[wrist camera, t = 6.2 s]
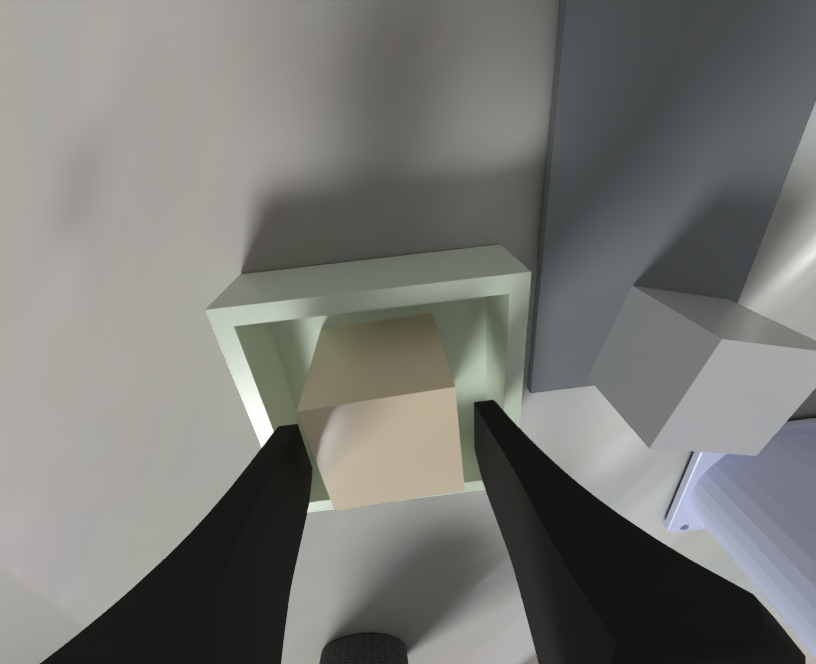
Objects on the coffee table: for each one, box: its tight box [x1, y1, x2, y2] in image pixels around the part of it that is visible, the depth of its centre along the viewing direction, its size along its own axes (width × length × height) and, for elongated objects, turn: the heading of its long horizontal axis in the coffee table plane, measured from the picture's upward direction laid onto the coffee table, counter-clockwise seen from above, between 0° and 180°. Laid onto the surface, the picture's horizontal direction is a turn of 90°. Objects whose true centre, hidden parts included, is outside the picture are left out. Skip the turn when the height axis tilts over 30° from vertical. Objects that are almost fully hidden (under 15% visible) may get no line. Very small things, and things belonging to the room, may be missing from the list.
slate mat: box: [527, 0, 816, 393], centre depth 12 cm, size 8×14×1 cm, turn 5°
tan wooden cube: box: [297, 312, 465, 511], centre depth 12 cm, size 4×4×4 cm
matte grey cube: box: [587, 286, 816, 456], centre depth 13 cm, size 4×4×4 cm
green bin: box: [205, 244, 531, 513], centre depth 14 cm, size 9×9×3 cm
